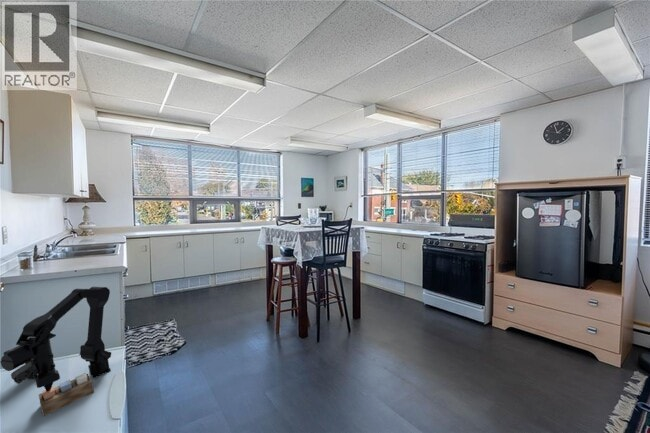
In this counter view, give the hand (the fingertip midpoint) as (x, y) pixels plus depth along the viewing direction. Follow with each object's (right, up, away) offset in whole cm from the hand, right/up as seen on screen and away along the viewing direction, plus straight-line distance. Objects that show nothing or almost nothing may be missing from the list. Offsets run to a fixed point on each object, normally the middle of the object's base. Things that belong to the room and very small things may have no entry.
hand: (48, 390), depth 114 cm
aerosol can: (-24, -5, +22) cm, 33 cm away
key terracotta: (0, -4, +1) cm, 4 cm away
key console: (+3, -6, +5) cm, 9 cm away
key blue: (+3, -3, +4) cm, 6 cm away
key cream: (+7, -3, +8) cm, 11 cm away
